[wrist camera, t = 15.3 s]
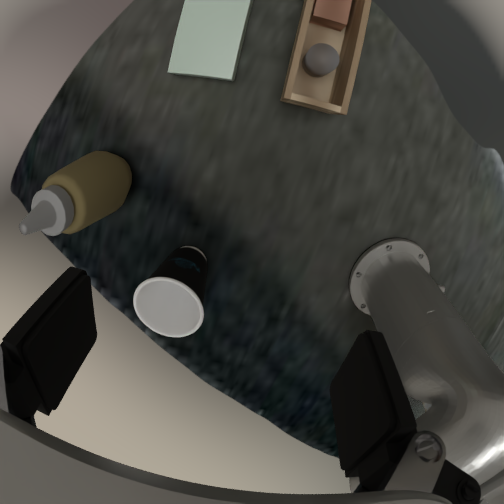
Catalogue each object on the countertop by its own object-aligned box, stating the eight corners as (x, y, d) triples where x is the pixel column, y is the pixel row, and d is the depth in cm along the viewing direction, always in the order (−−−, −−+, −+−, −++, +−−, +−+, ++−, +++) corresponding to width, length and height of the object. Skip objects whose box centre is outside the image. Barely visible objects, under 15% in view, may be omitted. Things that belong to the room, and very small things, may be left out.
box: (358, -16, 23) (378, -41, 16) (329, 113, 32) (346, 114, 24) (311, -30, 23) (321, -59, 16) (280, 101, 31) (283, 97, 24)
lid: (268, -53, 22) (268, -62, 19) (234, 81, 30) (231, 79, 28) (210, -57, 21) (207, -66, 19) (174, 74, 30) (167, 72, 28)
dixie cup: (208, 228, 39) (187, 271, 29) (225, 280, 42) (213, 333, 32) (154, 241, 40) (121, 285, 30) (174, 290, 43) (150, 340, 33)
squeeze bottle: (144, 203, 38) (68, 272, 21) (94, 207, 38) (11, 270, 22) (136, 142, 34) (44, 175, 18) (84, 150, 34) (-13, 189, 18)
